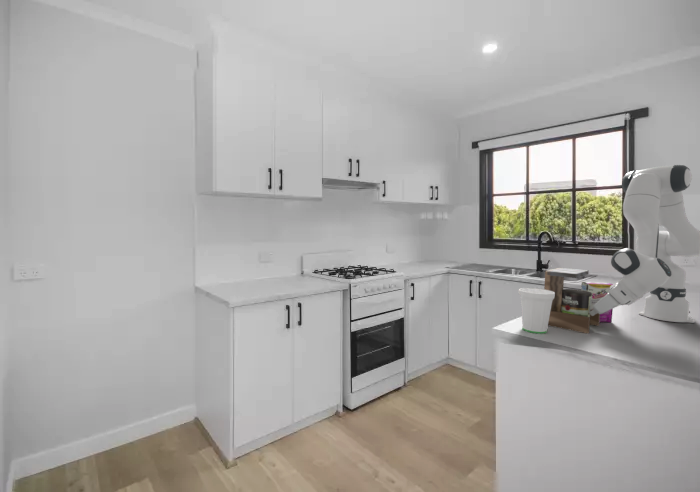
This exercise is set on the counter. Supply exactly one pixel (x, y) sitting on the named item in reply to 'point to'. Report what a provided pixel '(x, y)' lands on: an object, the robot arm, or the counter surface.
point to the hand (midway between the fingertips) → (591, 313)
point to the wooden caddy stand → (558, 318)
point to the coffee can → (576, 302)
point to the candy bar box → (598, 296)
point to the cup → (535, 309)
